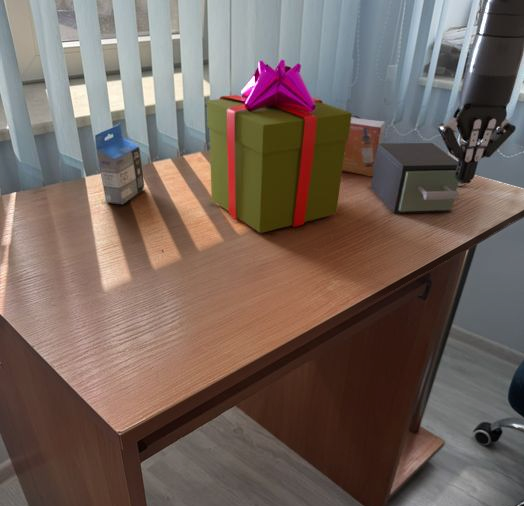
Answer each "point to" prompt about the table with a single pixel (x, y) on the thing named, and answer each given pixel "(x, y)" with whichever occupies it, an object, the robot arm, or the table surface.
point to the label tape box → (119, 166)
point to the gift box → (276, 151)
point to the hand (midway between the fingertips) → (463, 181)
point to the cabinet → (405, 168)
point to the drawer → (428, 190)
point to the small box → (362, 145)
